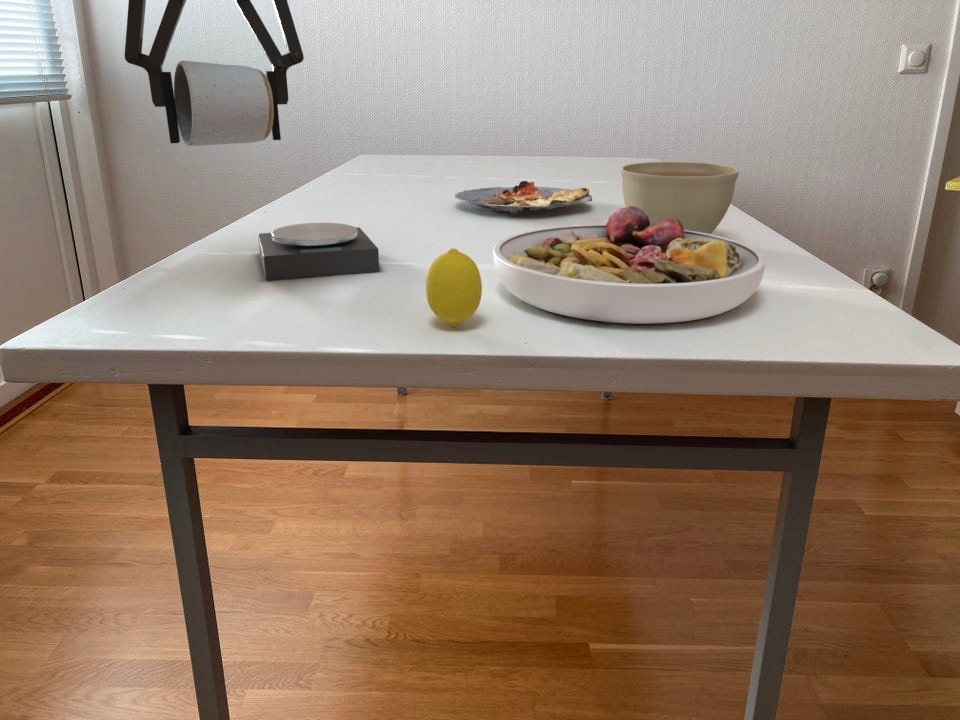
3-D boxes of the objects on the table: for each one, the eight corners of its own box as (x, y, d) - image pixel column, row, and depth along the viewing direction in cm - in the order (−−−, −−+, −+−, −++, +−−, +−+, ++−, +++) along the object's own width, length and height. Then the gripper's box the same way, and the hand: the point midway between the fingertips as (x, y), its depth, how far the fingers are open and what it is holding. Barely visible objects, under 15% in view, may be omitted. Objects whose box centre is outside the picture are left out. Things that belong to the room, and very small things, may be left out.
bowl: (783, 342, 74) (795, 261, 71) (472, 325, 78) (472, 249, 76) (739, 266, 101) (746, 205, 98) (511, 257, 106) (511, 199, 103)
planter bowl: (633, 228, 124) (638, 158, 120) (738, 238, 117) (747, 164, 113) (602, 249, 110) (606, 170, 107) (718, 261, 104) (728, 178, 100)
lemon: (488, 321, 80) (488, 244, 77) (471, 338, 75) (471, 256, 72) (438, 316, 81) (436, 240, 79) (418, 332, 77) (416, 252, 74)
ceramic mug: (281, 144, 76) (273, 60, 74) (196, 148, 72) (184, 60, 70) (248, 137, 85) (240, 62, 82) (170, 141, 81) (159, 62, 78)
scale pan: (275, 248, 95) (274, 242, 95) (269, 231, 105) (268, 225, 105) (364, 242, 98) (363, 236, 98) (350, 226, 108) (350, 220, 108)
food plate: (531, 192, 158) (531, 175, 157) (617, 208, 141) (619, 189, 140) (431, 206, 143) (430, 186, 142) (514, 225, 126) (514, 203, 125)
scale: (265, 280, 95) (263, 255, 94) (259, 255, 107) (257, 232, 106) (379, 271, 99) (378, 247, 98) (360, 248, 111) (359, 226, 110)
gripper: (314, -104, 76) (331, 134, 85) (71, -117, 71) (114, 140, 79) (322, -120, 70) (340, 140, 78) (55, -135, 64) (104, 147, 72)
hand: (226, 140), depth 78 cm, fingers closed on ceramic mug, 9 cm apart
